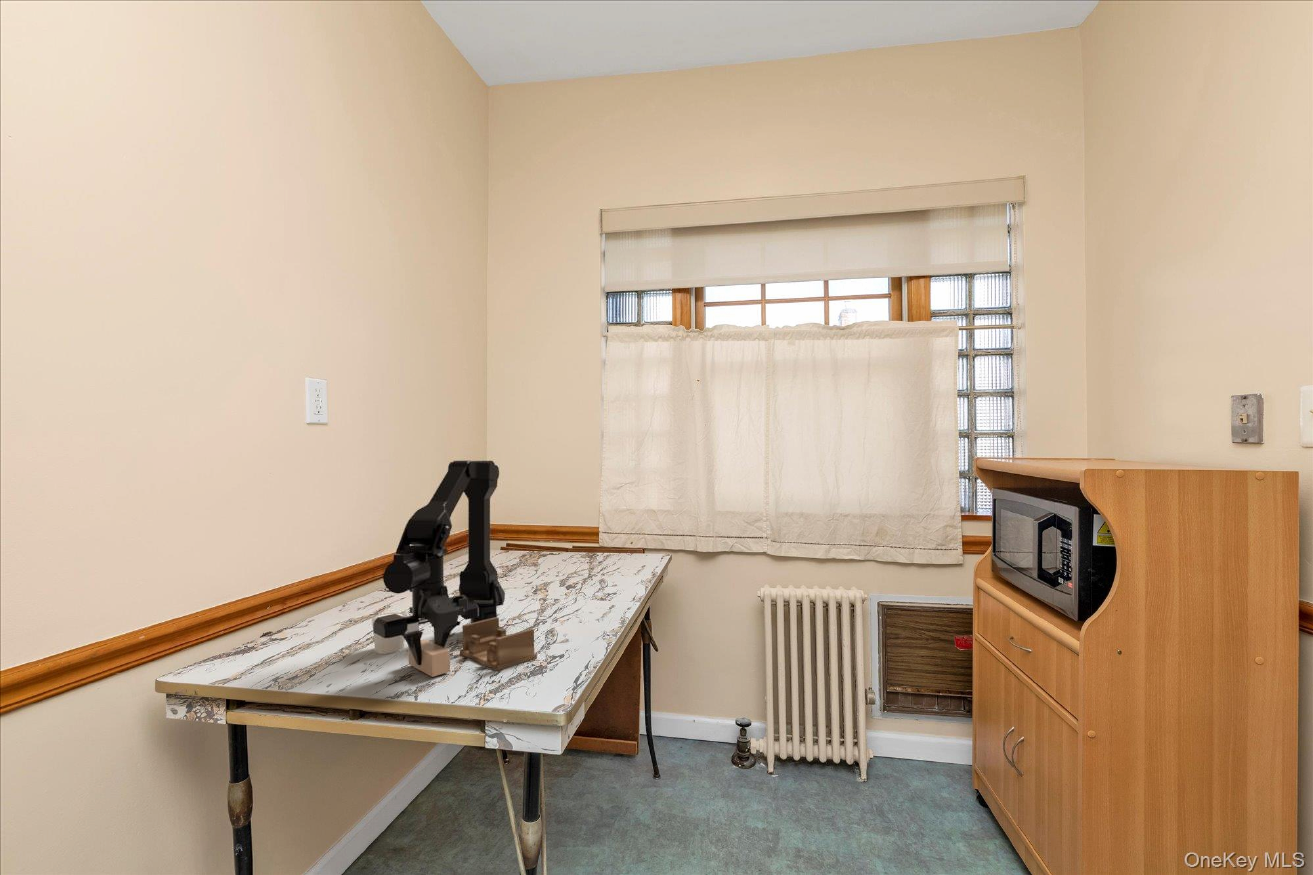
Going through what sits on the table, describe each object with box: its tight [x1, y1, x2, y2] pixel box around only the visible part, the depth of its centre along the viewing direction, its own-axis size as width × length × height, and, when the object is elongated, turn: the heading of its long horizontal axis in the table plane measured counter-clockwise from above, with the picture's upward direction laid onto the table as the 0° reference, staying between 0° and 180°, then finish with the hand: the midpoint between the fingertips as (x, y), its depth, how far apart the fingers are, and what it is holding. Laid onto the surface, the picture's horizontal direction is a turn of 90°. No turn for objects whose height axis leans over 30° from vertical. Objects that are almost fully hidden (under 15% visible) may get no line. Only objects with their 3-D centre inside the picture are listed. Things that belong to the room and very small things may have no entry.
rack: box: [459, 616, 538, 672], centre depth 123 cm, size 14×9×6 cm, turn 47°
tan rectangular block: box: [407, 638, 451, 678], centre depth 115 cm, size 10×4×4 cm, turn 47°
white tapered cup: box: [371, 612, 408, 655], centre depth 128 cm, size 7×7×7 cm
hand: (428, 662), depth 115 cm, fingers closed on tan rectangular block, 3 cm apart
